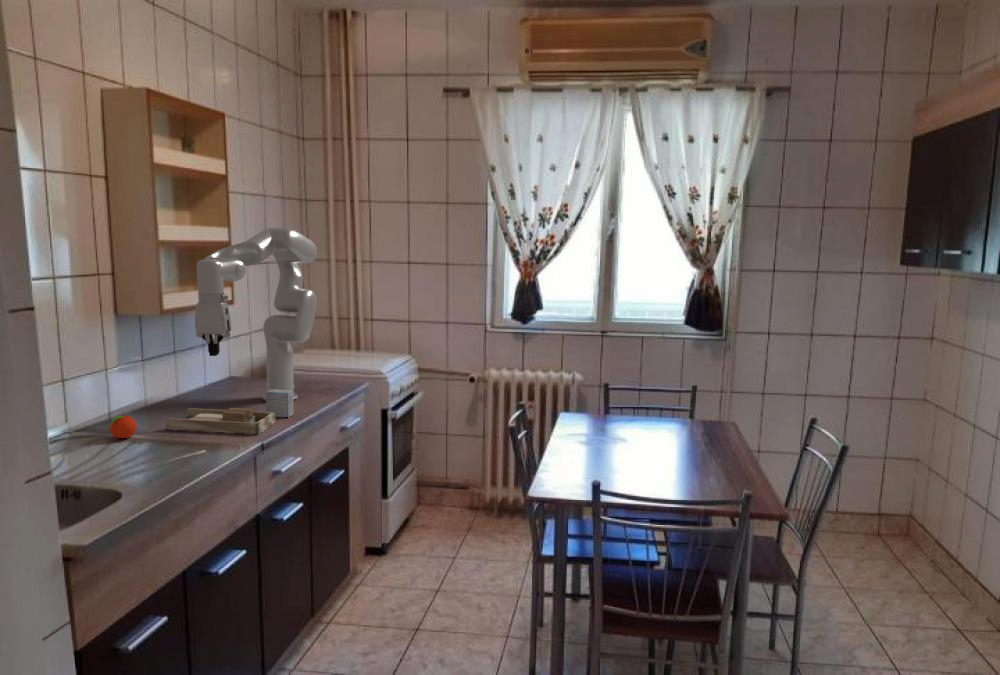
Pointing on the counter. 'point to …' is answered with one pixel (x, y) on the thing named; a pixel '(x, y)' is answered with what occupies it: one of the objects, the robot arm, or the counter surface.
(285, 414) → the medicine box
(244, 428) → the tray
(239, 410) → the walnut block
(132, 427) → the clementine
